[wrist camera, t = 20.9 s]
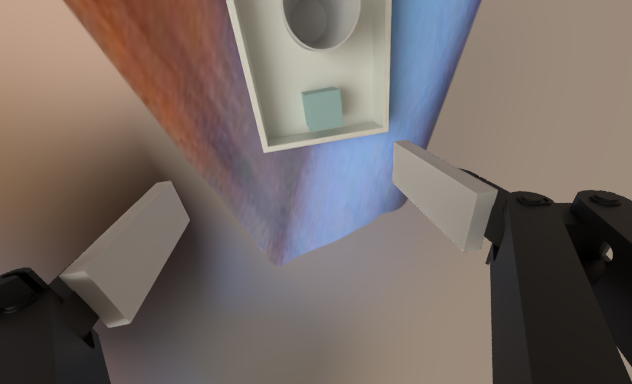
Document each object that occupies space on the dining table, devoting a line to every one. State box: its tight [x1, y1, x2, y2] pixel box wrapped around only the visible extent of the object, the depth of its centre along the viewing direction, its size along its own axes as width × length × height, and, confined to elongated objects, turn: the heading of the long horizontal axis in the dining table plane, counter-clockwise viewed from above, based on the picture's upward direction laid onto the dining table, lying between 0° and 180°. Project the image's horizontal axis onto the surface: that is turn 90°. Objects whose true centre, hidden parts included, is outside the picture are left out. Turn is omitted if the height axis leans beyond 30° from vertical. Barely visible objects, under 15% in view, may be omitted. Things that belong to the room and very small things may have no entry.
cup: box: [281, 0, 361, 51], centre depth 27 cm, size 8×8×10 cm
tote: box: [226, 0, 392, 153], centre depth 32 cm, size 22×20×5 cm
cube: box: [301, 87, 343, 132], centre depth 35 cm, size 5×5×5 cm
